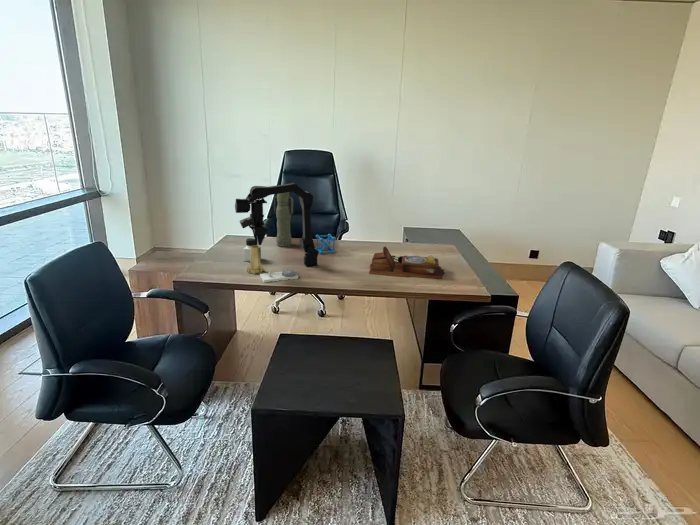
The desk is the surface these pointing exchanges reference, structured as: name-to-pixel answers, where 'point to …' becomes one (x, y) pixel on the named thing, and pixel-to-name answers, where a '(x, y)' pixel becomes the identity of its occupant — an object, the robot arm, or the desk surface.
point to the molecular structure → (325, 243)
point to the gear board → (279, 276)
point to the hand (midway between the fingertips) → (257, 242)
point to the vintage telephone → (405, 266)
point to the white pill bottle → (247, 249)
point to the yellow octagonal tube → (255, 261)
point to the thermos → (283, 218)
